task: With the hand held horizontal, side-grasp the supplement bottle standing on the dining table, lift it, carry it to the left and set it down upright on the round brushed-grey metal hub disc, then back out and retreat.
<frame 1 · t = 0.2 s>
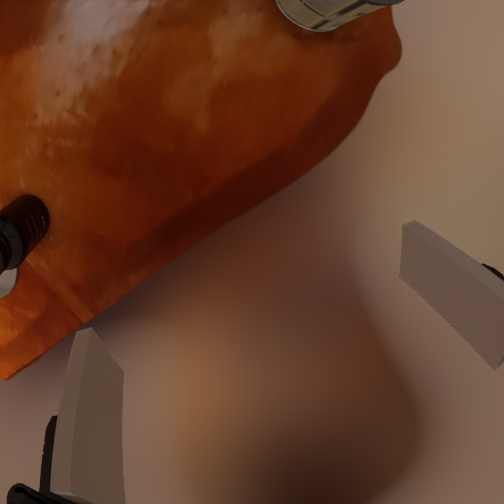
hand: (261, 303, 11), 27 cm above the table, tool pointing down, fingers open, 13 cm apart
supplement bottle: (31, 217, 32), on the table
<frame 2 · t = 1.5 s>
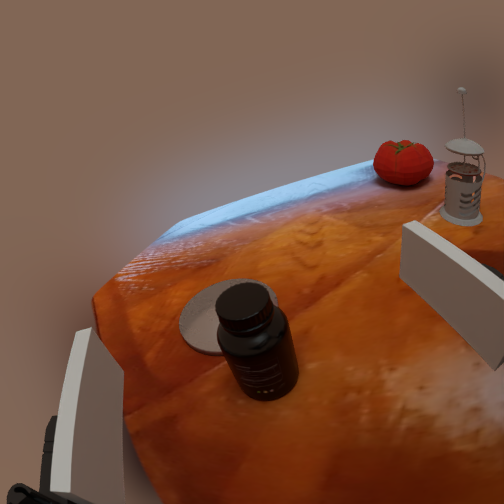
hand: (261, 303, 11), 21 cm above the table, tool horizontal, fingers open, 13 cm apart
french press: (463, 213, 49), on the table
supplement bottle: (269, 377, 32), on the table
tomato: (404, 181, 67), on the table
hub disc: (229, 316, 41), on the table
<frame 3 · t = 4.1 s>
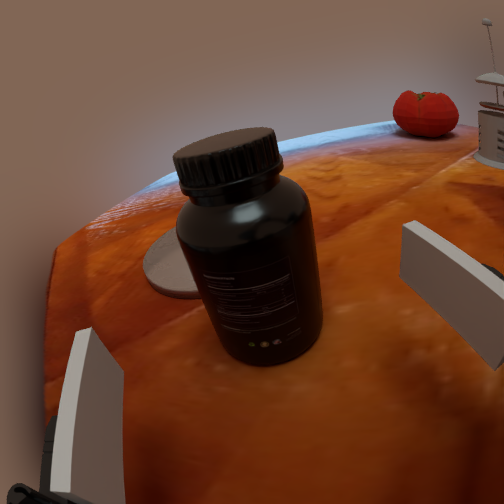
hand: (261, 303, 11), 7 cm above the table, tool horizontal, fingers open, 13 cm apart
french press: (500, 161, 36), on the table
supplement bottle: (271, 329, 19), on the table
tomato: (427, 135, 54), on the table
hub disc: (214, 250, 29), on the table
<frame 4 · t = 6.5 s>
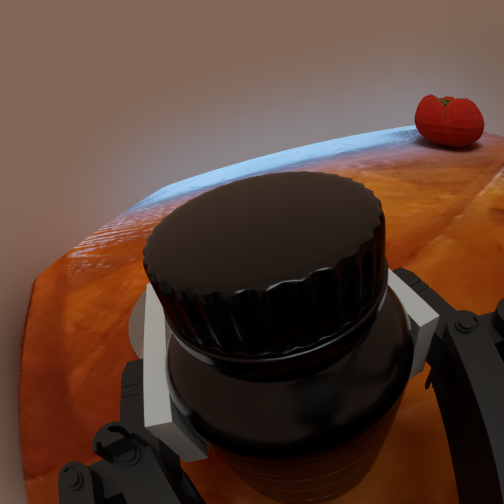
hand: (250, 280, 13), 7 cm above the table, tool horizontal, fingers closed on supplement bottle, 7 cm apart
supplement bottle: (307, 446, 12), on the table, touching gripper
tomato: (450, 145, 47), on the table
hub disc: (221, 310, 22), on the table
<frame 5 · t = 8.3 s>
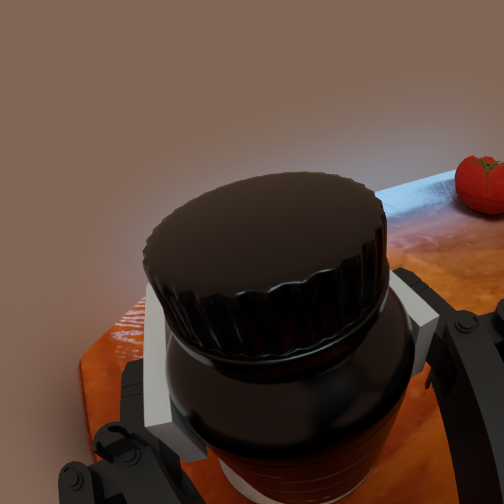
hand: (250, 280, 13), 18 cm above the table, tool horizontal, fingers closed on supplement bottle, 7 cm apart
supplement bottle: (308, 447, 12), point 11 cm above the table, touching gripper
tomato: (484, 207, 46), on the table
hub disc: (299, 439, 22), on the table
when the fingers open (9 cm above the table, at t = 10.6 s): supplement bottle drops 1 cm, resting on hub disc.
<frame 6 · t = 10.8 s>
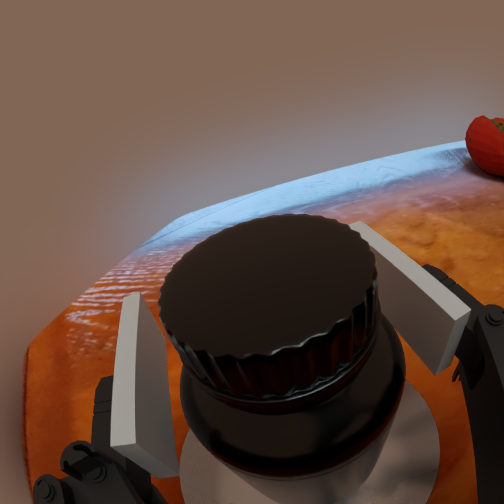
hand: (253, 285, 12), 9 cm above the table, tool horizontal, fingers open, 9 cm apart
supplement bottle: (312, 453, 13), point 1 cm above the table, touching hub disc
tomato: (499, 172, 39), on the table
hub disc: (309, 459, 13), on the table
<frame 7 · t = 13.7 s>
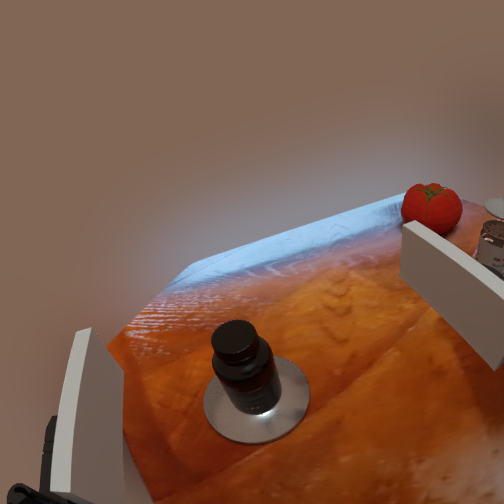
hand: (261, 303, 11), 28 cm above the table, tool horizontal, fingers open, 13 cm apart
french press: (491, 272, 44), on the table
supplement bottle: (256, 395, 36), point 1 cm above the table, touching hub disc
tomato: (430, 227, 62), on the table
hub disc: (256, 399, 37), on the table
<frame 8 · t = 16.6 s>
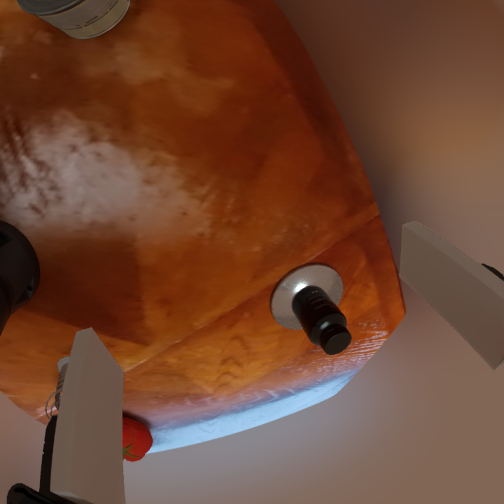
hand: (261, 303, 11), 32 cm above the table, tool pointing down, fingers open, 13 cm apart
french press: (75, 372, 50), on the table
supplement bottle: (307, 299, 54), point 1 cm above the table, touching hub disc
tomato: (120, 422, 61), on the table
coffee can: (94, 7, 25), on the table
hub disc: (306, 296, 54), on the table
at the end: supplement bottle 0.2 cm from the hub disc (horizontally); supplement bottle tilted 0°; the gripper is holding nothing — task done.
